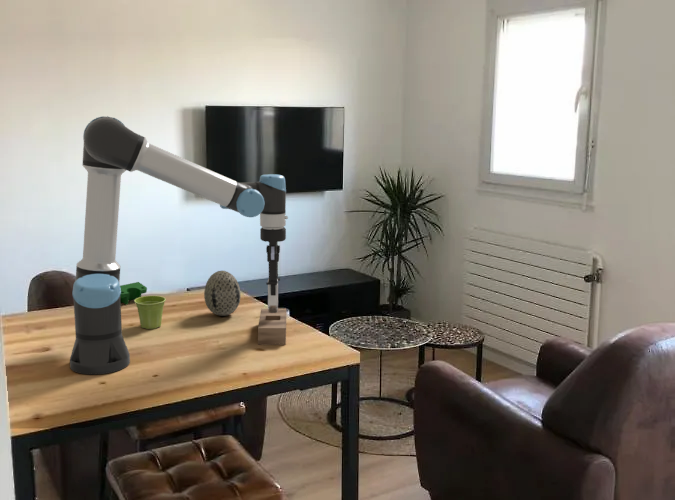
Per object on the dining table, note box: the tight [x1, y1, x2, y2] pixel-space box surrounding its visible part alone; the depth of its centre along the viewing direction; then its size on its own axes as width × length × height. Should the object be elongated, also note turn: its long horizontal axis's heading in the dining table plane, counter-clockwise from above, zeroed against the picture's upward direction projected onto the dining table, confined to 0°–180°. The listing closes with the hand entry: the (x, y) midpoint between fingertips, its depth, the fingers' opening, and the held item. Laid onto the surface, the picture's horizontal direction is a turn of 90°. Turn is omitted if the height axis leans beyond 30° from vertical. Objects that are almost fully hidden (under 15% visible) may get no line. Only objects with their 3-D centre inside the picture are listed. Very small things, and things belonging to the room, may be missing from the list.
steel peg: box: [267, 278, 279, 313], centre depth 219 cm, size 3×3×10 cm
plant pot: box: [133, 295, 167, 330], centre depth 225 cm, size 9×9×9 cm
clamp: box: [120, 281, 148, 306], centre depth 251 cm, size 12×6×9 cm, turn 133°
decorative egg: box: [203, 270, 241, 317], centre depth 237 cm, size 12×12×15 cm
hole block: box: [257, 307, 287, 346], centre depth 221 cm, size 20×8×5 cm, turn 3°
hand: (273, 303), depth 219 cm, fingers closed on steel peg, 2 cm apart
